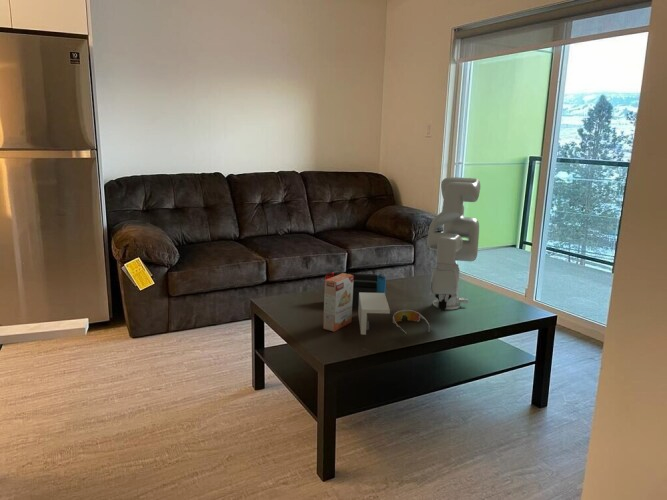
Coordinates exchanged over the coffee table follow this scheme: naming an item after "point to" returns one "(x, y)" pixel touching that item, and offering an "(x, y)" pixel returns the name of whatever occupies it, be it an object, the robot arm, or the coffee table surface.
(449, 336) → the coffee table surface
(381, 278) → the game console
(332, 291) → the cracker box
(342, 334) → the coffee table surface
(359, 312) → the overhang dock
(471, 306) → the coffee table surface
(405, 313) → the sunglasses
